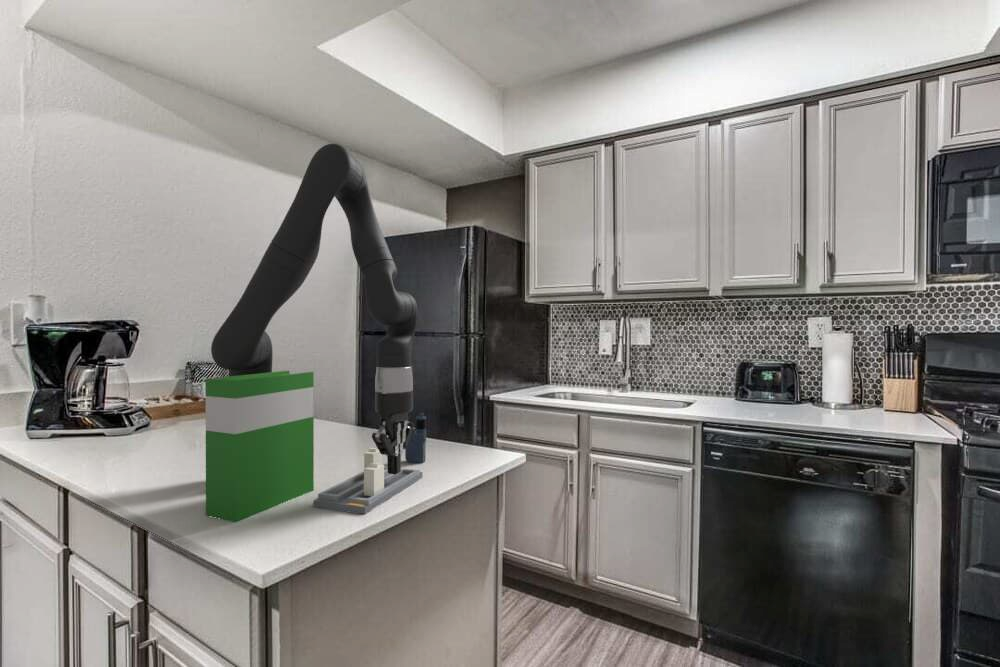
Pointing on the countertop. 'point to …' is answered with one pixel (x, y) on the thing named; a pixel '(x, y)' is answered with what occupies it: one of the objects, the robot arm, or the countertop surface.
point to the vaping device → (417, 442)
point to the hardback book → (258, 442)
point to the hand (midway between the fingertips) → (394, 473)
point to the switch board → (352, 491)
